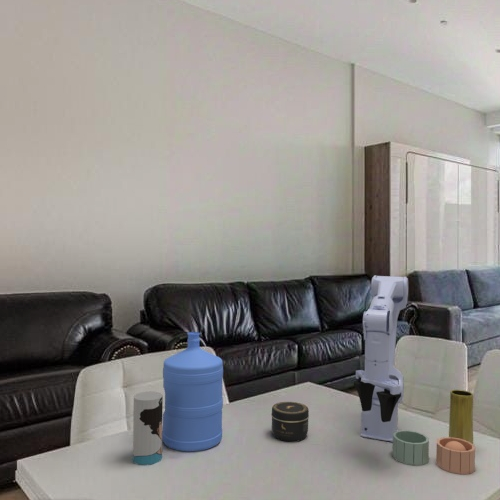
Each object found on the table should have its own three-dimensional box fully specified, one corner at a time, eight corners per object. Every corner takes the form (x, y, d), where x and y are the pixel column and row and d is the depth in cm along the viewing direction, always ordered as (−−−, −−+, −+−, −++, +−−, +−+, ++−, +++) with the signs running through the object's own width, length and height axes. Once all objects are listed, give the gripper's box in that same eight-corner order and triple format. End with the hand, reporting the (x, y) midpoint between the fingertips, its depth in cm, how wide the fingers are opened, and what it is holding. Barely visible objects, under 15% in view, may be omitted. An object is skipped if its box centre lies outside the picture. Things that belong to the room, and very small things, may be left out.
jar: (265, 439, 126) (266, 410, 126) (278, 425, 135) (278, 399, 135) (302, 445, 122) (303, 416, 122) (312, 431, 132) (313, 404, 131)
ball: (443, 465, 111) (443, 443, 111) (444, 456, 115) (444, 436, 115) (466, 469, 109) (467, 448, 109) (466, 460, 113) (467, 439, 113)
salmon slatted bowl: (435, 469, 110) (436, 447, 110) (437, 455, 118) (437, 435, 118) (474, 476, 107) (475, 454, 107) (474, 461, 114) (474, 441, 114)
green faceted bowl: (390, 460, 114) (391, 440, 114) (395, 447, 122) (395, 428, 122) (427, 467, 111) (427, 446, 111) (429, 453, 118) (429, 433, 118)
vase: (476, 454, 118) (477, 397, 118) (450, 452, 119) (451, 395, 119) (470, 444, 124) (471, 390, 124) (445, 442, 125) (446, 388, 125)
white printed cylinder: (165, 461, 112) (166, 398, 112) (136, 467, 109) (137, 402, 109) (157, 450, 118) (158, 390, 118) (130, 455, 115) (130, 393, 115)
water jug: (234, 439, 125) (236, 333, 125) (187, 458, 114) (189, 341, 113) (196, 423, 136) (197, 325, 136) (149, 439, 125) (150, 332, 124)
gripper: (345, 354, 120) (345, 407, 120) (382, 368, 107) (381, 428, 107) (369, 352, 123) (368, 404, 123) (407, 365, 109) (406, 424, 109)
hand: (376, 415), depth 115 cm, fingers open, 7 cm apart
